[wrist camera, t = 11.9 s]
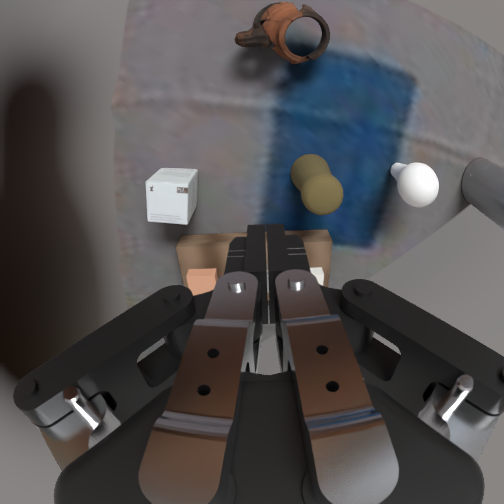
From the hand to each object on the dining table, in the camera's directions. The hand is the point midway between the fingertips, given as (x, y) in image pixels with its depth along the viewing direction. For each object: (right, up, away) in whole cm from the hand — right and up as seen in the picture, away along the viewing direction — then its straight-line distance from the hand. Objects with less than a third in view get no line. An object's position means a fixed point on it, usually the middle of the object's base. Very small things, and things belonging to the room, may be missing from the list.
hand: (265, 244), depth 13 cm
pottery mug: (+3, +30, +20) cm, 36 cm away
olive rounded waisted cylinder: (+8, +11, +30) cm, 33 cm away
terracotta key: (-8, -5, +34) cm, 35 cm away
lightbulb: (+22, +13, +29) cm, 39 cm away
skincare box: (-12, +10, +32) cm, 36 cm away
